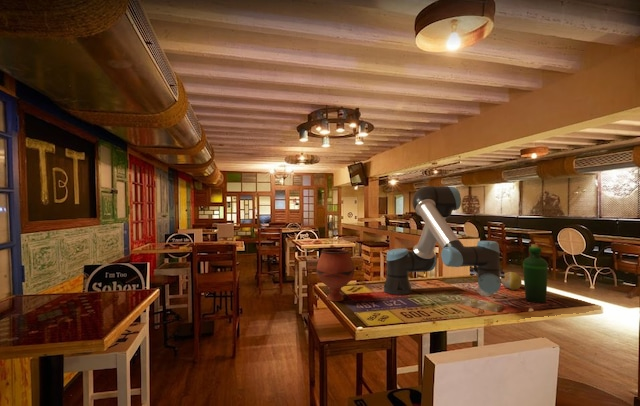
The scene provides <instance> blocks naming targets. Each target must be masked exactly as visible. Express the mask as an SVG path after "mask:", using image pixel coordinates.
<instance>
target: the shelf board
mask: <svg viewBox="0 0 640 406" xmlns="http://www.w3.org/2000/svg"><path fill="white" fill-rule="evenodd" d="M459 299H460V302H459V303H460V305H461V306H465V307H466V306H467V307H470V308H475V309H481V310H484V311H490V312H495V313H498V312H500V311H501V310H502V309H504V304H503V303H499V302H498V303H497V302H493V301H492V302H491V301H487V300H482V299H477V298H472V297H464V296H460V298H459Z"/></svg>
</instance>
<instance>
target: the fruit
mask: <svg viewBox="0 0 640 406" xmlns="http://www.w3.org/2000/svg"><path fill="white" fill-rule="evenodd" d="M500 281H501V285H502V286H503V287H504V288H506V289H508V290H512V291H517V290H519V289H520V287H522V283H523V282H522V281H523V280H522V277H521V276H520V275H519V274H518V273H517V272H515V271H508V272H505V278H501V277H500Z"/></svg>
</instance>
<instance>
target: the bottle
mask: <svg viewBox="0 0 640 406" xmlns="http://www.w3.org/2000/svg"><path fill="white" fill-rule="evenodd" d="M530 245H531V246H529V247H528V252H529V256H528V257H526V258H524V260H523V261H522V269H523V270H522V271H523V284H524V296H525V300H528V301H529V302H533V303H539V304H543V303H546V302H547V291H548V290H547V287H548V270H549V269H548V268H549V263H548V262H547V261H546V260H545V259H544V258H543V257H541V253H542V248H541V247H539V244H538V243H537V244H536V243H535V244H534V243H532V244H530Z"/></svg>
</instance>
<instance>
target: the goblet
mask: <svg viewBox="0 0 640 406" xmlns="http://www.w3.org/2000/svg"><path fill="white" fill-rule="evenodd" d="M354 274H355V265H354V262H353V259H352V257H351V254H350V250H349V249H338V248H330V249H322V250H321V254H320V255H319V258H318V262H317V264H316V275H317V277H318V278H319V280H320V281H321V282H322V283H323V284H324V285H325V286H326V287H328V288H329V291H330V293H328V294H327V296H326V300H327V301H330V302H341V301H344V300H345V299H344V296H343V295H342V293H341V290H342V288H343V287H346V286H347V285H348V284H349V283H350V282H351V281H352V279H353V277H354Z"/></svg>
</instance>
